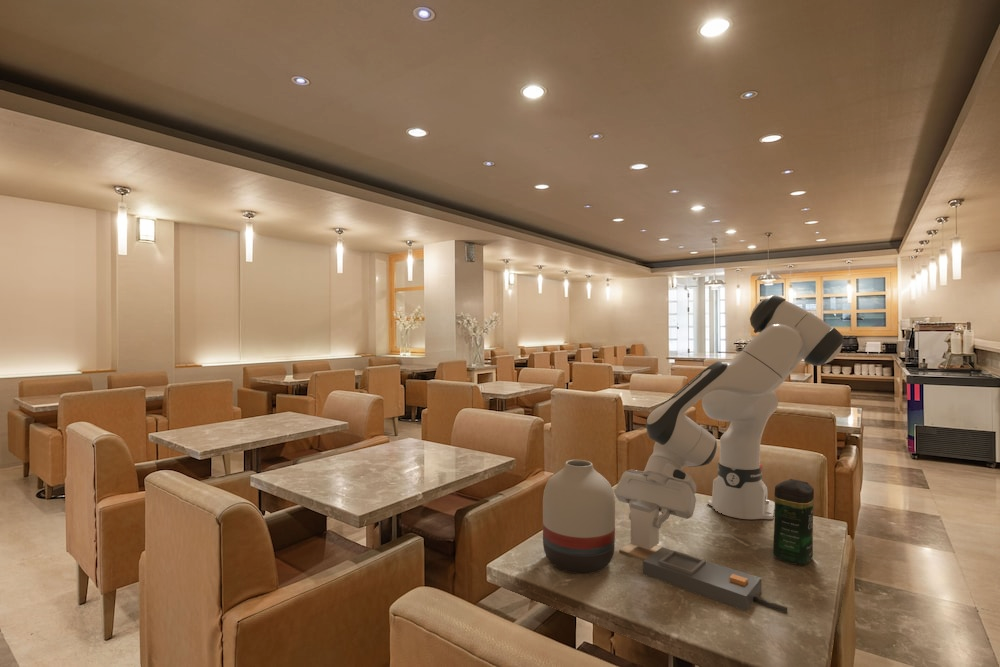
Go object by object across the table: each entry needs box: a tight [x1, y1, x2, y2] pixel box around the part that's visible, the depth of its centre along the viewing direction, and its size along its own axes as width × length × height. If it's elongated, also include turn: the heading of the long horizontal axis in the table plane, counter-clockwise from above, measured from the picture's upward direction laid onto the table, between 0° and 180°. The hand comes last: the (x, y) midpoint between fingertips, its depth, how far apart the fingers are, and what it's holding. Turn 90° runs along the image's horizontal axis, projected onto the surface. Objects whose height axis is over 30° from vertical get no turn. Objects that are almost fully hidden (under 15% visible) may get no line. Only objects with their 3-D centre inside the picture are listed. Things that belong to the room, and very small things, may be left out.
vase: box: [542, 459, 616, 575], centre depth 120 cm, size 17×17×24 cm
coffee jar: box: [772, 478, 815, 566], centre depth 123 cm, size 10×8×19 cm
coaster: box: [619, 542, 669, 561], centre depth 126 cm, size 9×9×1 cm
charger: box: [630, 500, 660, 550], centre depth 126 cm, size 5×5×10 cm
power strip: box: [642, 546, 789, 613], centre depth 108 cm, size 10×28×4 cm, turn 47°
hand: (643, 523), depth 125 cm, fingers closed on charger, 5 cm apart
